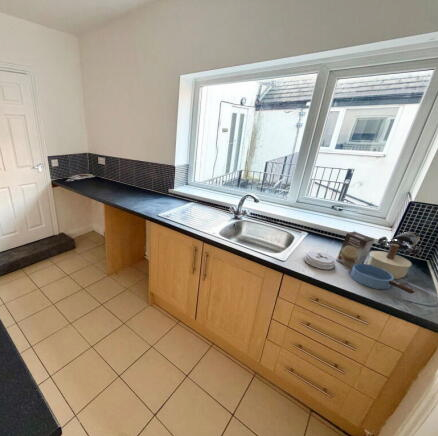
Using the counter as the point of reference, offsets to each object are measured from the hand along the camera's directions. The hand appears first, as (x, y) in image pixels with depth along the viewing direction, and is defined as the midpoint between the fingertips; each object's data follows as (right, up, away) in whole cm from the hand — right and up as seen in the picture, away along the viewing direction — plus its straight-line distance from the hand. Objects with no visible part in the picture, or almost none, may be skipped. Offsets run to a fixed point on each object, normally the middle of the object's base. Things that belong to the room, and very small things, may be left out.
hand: (393, 248), depth 113 cm
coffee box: (-13, -9, +9) cm, 19 cm away
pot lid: (0, -5, +2) cm, 6 cm away
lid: (-28, -9, +10) cm, 31 cm away
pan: (-13, -15, -6) cm, 21 cm away
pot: (0, -11, +4) cm, 12 cm away
